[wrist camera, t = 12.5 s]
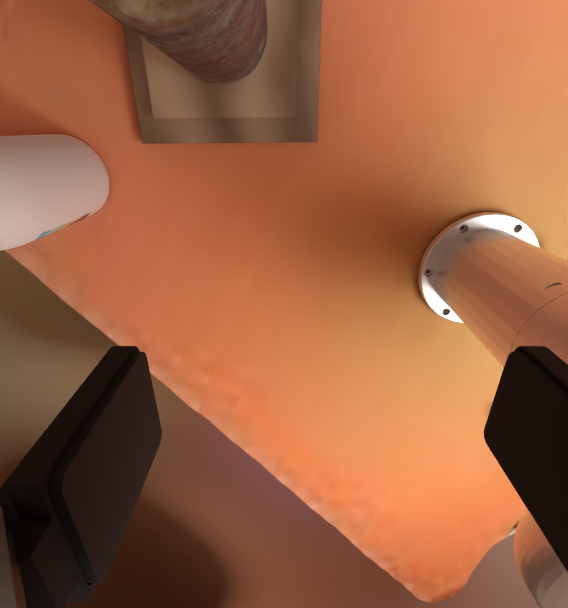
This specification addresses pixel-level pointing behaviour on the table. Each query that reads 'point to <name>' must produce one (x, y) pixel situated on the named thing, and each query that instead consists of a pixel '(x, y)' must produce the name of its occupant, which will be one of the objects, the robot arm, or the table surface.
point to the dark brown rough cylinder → (199, 33)
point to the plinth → (238, 126)
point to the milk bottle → (47, 185)
